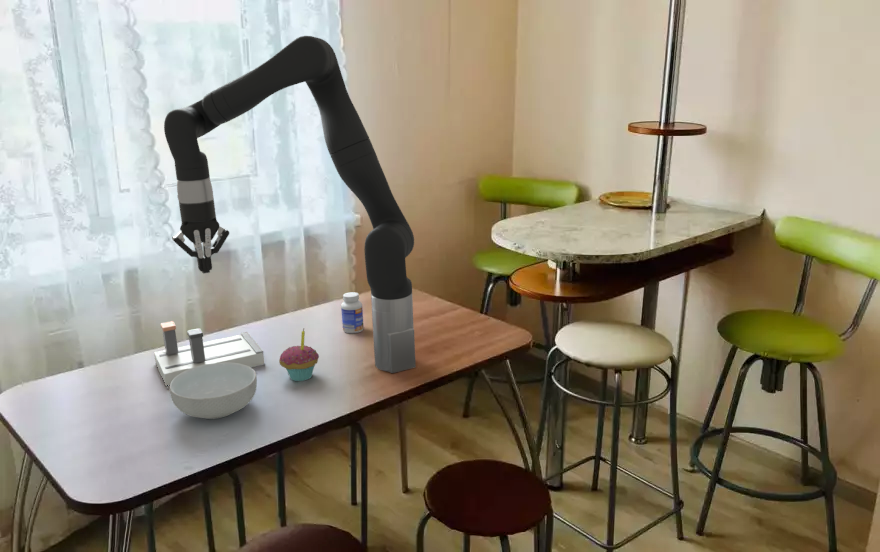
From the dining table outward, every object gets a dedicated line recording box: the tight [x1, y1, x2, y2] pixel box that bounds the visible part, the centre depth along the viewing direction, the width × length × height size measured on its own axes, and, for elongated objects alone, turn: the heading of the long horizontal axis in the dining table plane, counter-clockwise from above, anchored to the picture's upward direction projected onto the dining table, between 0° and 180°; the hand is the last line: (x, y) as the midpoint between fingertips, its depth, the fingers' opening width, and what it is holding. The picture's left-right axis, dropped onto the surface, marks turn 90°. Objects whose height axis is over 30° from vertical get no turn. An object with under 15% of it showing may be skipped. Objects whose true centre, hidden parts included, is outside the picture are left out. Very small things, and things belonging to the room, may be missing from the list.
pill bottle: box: [340, 291, 364, 334], centre depth 189 cm, size 5×5×10 cm
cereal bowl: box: [169, 363, 258, 420], centre depth 149 cm, size 17×17×7 cm
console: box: [153, 331, 265, 387], centre depth 172 cm, size 14×22×3 cm, turn 119°
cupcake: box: [278, 328, 320, 382], centre depth 163 cm, size 9×8×12 cm
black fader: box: [186, 327, 205, 363], centre depth 165 cm, size 3×3×7 cm
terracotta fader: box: [160, 320, 179, 355], centre depth 170 cm, size 3×3×7 cm
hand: (205, 272), depth 170 cm, fingers closed
